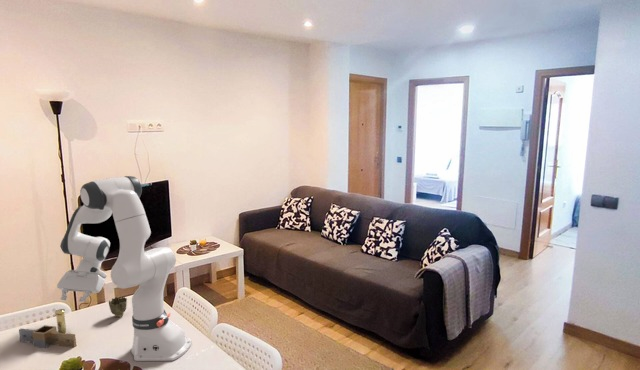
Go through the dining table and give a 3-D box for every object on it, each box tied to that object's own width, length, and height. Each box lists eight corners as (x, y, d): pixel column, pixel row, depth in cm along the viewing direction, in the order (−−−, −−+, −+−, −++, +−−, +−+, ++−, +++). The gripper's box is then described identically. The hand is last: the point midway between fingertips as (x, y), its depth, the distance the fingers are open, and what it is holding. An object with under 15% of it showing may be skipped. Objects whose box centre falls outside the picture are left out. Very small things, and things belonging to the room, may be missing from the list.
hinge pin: (69, 331, 165) (67, 309, 163) (62, 335, 161) (59, 313, 160) (62, 330, 165) (59, 308, 164) (55, 334, 162) (52, 312, 160)
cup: (120, 321, 173) (118, 304, 172) (106, 319, 174) (104, 302, 173) (131, 313, 180) (130, 297, 179) (117, 311, 182) (116, 295, 180)
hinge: (81, 342, 156) (79, 328, 155) (69, 350, 150) (68, 336, 149) (27, 336, 160) (25, 323, 160) (14, 344, 155) (13, 330, 154)
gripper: (63, 266, 175) (46, 296, 167) (102, 269, 172) (87, 300, 164) (72, 272, 180) (56, 301, 172) (110, 275, 177) (96, 305, 169)
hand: (72, 300), depth 168 cm, fingers open, 8 cm apart
